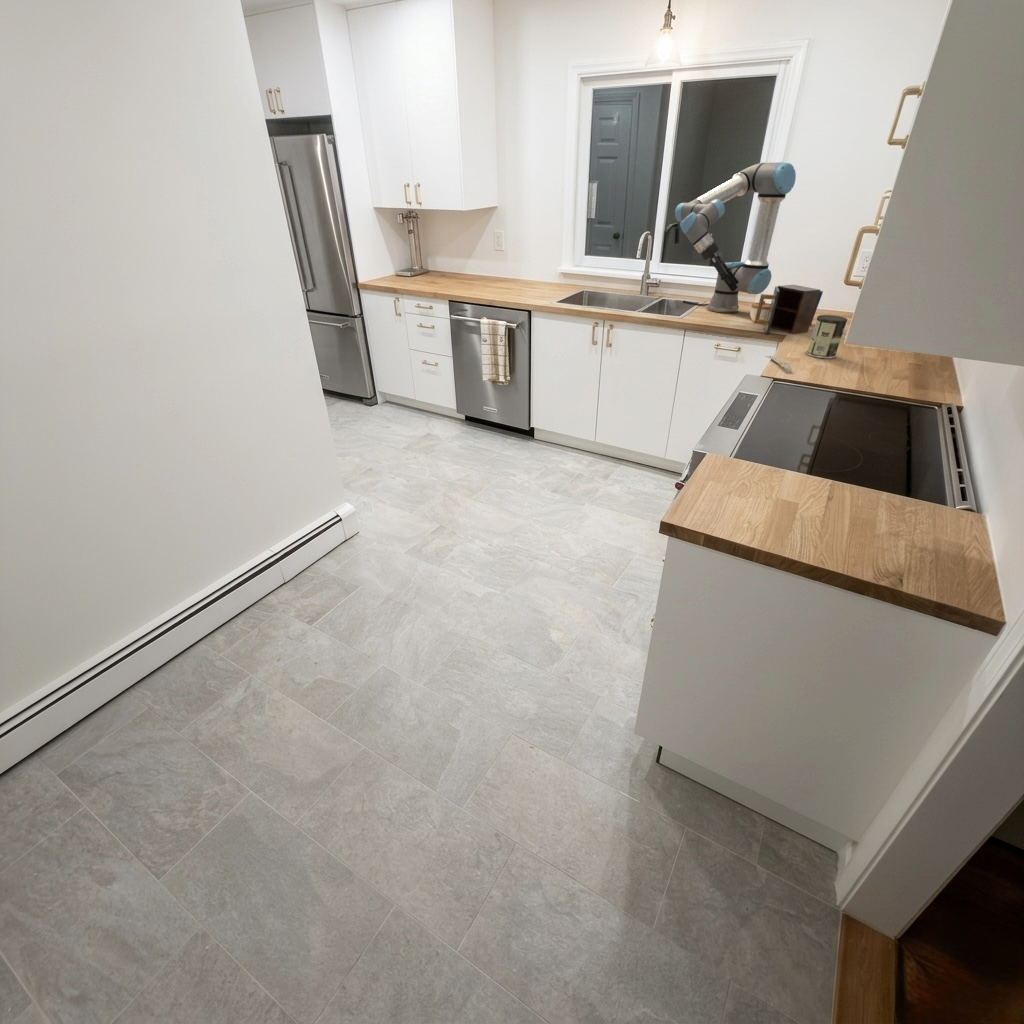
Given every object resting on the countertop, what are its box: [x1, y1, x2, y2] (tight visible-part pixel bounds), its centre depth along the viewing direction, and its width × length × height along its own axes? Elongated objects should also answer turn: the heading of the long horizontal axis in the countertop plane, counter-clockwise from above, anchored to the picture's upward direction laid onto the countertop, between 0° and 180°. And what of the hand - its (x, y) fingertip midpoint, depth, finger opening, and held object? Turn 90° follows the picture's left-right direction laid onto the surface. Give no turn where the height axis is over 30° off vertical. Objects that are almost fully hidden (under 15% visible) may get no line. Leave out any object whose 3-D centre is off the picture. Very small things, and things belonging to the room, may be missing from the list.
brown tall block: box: [810, 290, 824, 326], centre depth 251 cm, size 7×7×15 cm
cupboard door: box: [753, 285, 779, 335], centre depth 239 cm, size 7×14×18 cm, turn 160°
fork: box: [765, 355, 793, 374], centre depth 198 cm, size 3×21×3 cm, turn 178°
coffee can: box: [806, 314, 848, 360], centre depth 206 cm, size 10×10×14 cm
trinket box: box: [749, 300, 771, 323], centre depth 256 cm, size 11×11×9 cm
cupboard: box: [770, 284, 821, 335], centre depth 240 cm, size 10×14×18 cm
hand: (735, 287), depth 235 cm, fingers open, 13 cm apart
